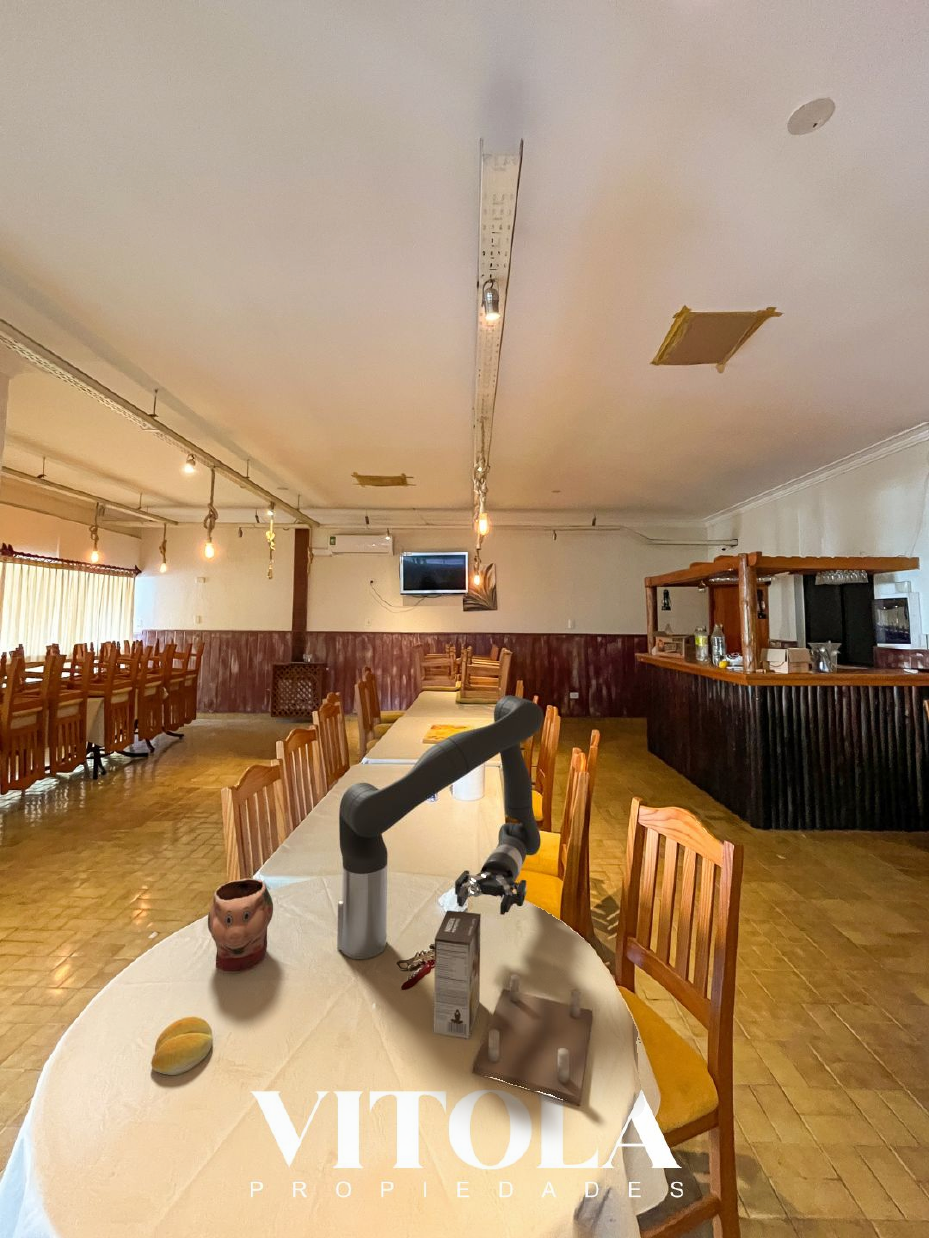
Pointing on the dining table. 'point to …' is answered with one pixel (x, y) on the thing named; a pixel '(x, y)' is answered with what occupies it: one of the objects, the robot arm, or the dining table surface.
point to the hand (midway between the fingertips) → (480, 905)
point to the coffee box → (457, 974)
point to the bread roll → (182, 1046)
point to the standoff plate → (537, 1043)
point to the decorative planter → (240, 924)
